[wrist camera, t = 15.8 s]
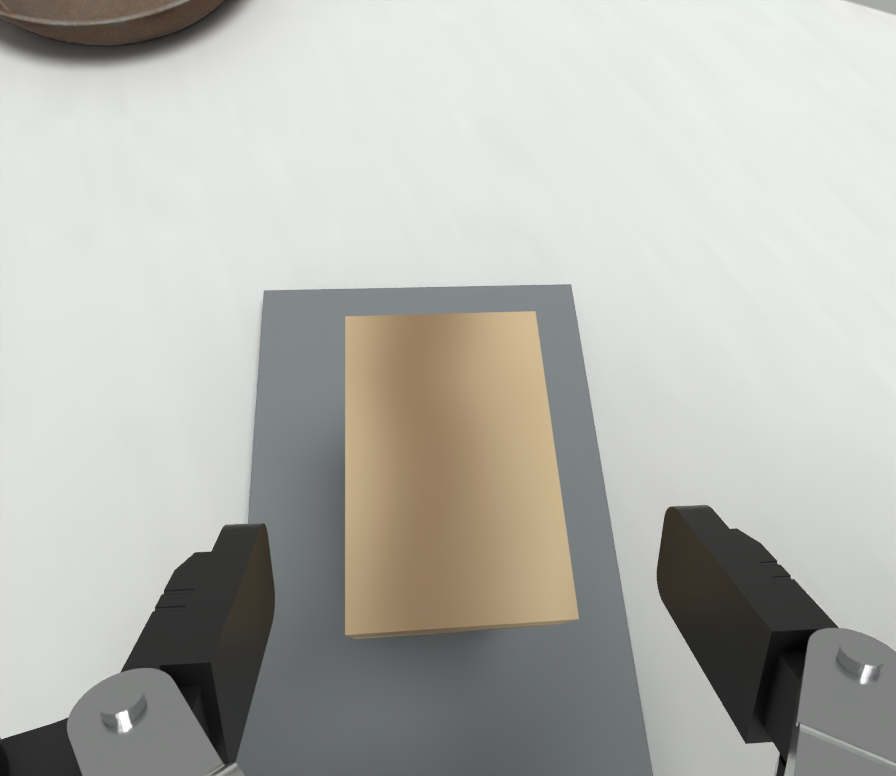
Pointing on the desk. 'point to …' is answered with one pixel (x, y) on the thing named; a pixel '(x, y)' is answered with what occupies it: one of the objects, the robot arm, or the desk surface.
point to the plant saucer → (104, 18)
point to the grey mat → (442, 654)
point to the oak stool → (451, 478)
